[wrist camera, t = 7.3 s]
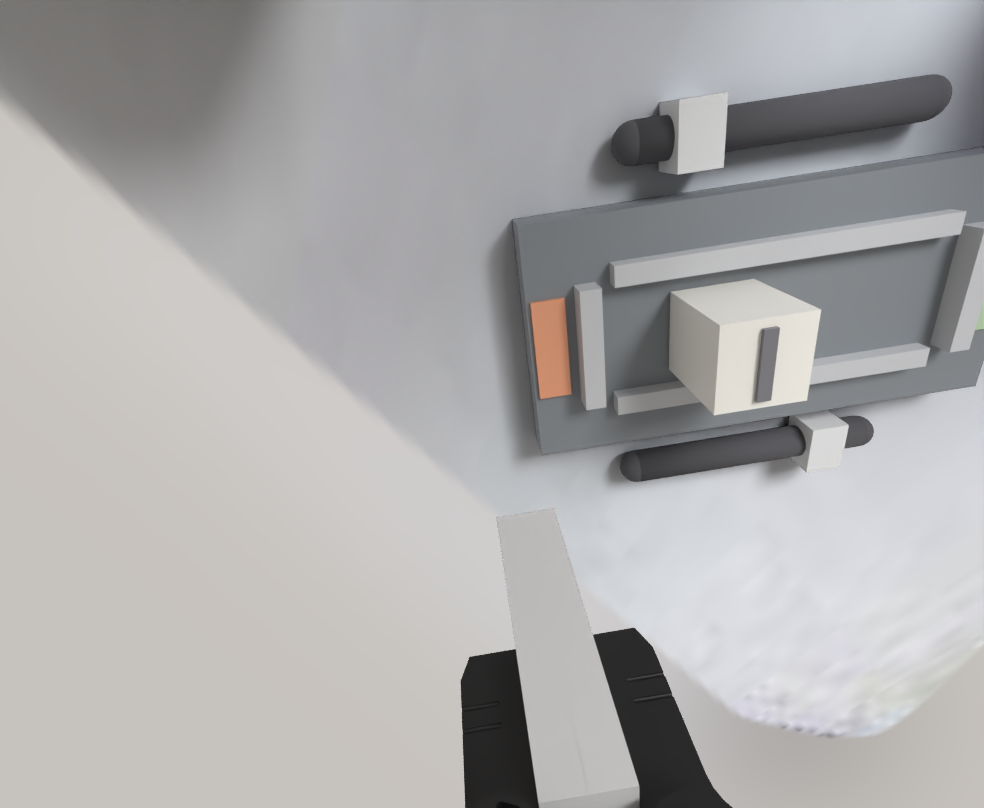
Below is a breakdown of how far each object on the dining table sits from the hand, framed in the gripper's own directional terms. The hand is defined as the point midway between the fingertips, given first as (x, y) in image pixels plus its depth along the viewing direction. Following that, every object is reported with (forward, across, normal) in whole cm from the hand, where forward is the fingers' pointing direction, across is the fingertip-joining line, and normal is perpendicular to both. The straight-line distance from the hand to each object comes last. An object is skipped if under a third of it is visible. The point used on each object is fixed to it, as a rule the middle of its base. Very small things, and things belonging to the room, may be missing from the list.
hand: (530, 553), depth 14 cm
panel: (+15, +14, 0) cm, 21 cm away
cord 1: (+15, +14, +9) cm, 23 cm away
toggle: (+13, +11, 0) cm, 17 cm away
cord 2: (+15, +14, -8) cm, 22 cm away
